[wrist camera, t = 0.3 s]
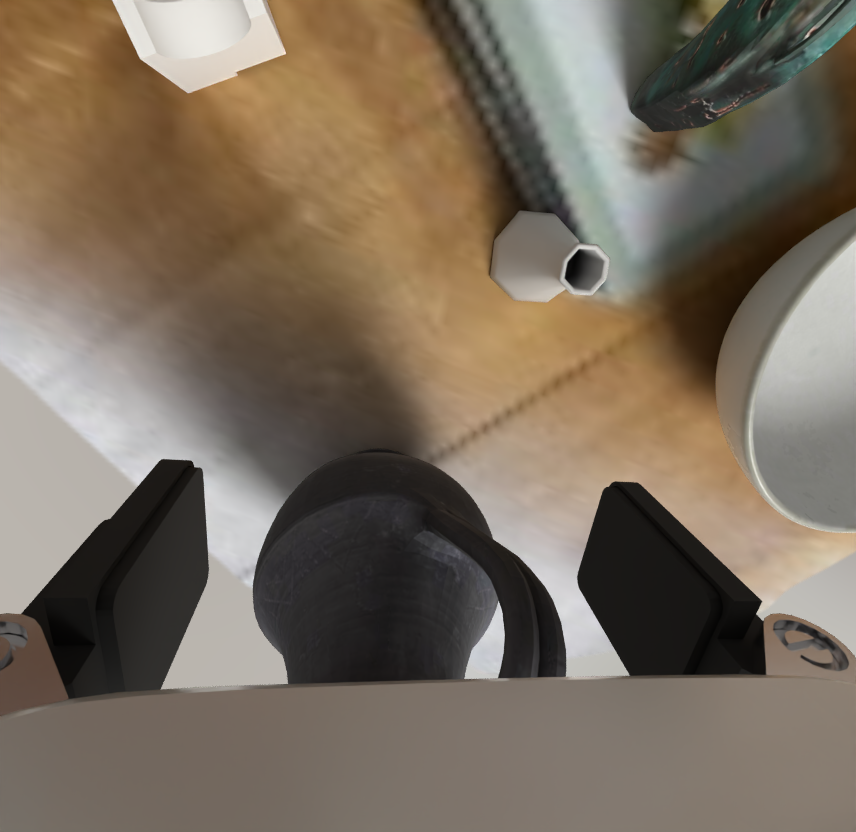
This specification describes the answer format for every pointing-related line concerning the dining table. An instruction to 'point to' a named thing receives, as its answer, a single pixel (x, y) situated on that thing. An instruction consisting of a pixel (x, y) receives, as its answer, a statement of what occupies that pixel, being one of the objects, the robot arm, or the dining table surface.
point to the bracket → (201, 37)
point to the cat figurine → (740, 59)
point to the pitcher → (395, 579)
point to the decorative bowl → (797, 381)
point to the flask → (545, 259)
